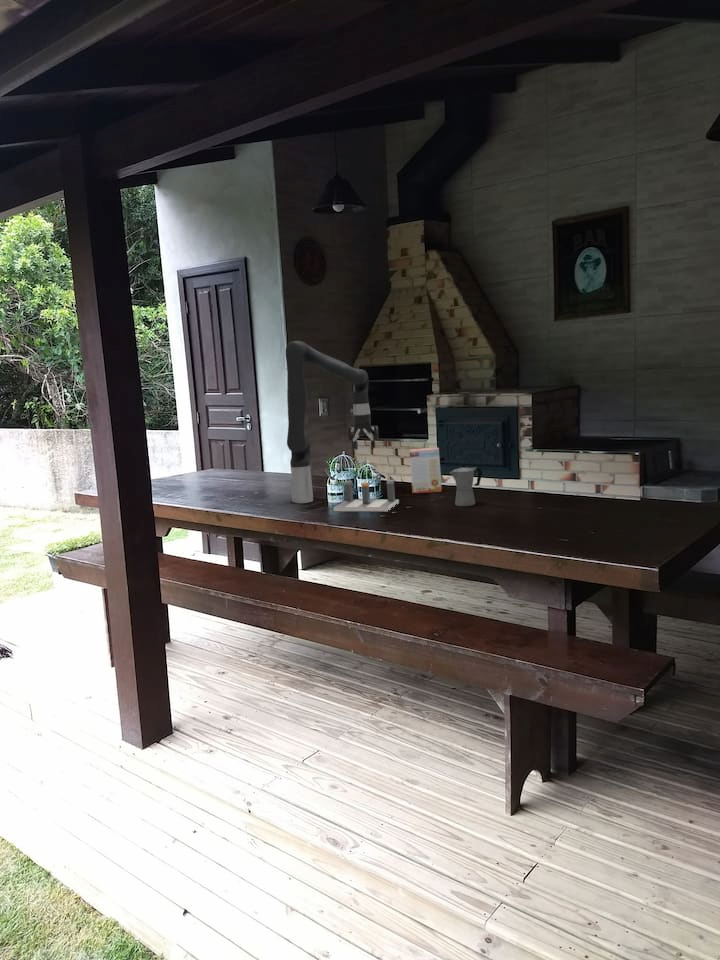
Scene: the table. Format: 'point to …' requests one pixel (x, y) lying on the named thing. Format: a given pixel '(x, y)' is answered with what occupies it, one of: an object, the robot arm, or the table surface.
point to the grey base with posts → (374, 503)
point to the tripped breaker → (365, 492)
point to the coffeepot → (465, 484)
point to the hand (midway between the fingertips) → (364, 449)
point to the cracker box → (425, 470)
